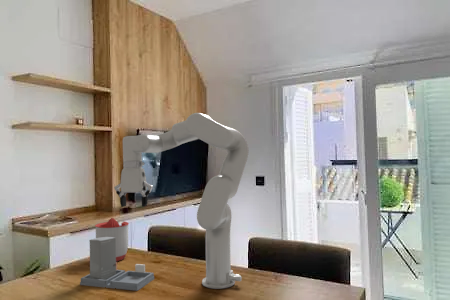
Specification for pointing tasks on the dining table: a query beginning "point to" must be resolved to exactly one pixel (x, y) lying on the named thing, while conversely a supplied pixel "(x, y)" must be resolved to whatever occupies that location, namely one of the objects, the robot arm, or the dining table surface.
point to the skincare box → (102, 258)
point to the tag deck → (122, 279)
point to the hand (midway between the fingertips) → (133, 206)
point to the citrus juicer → (115, 235)
